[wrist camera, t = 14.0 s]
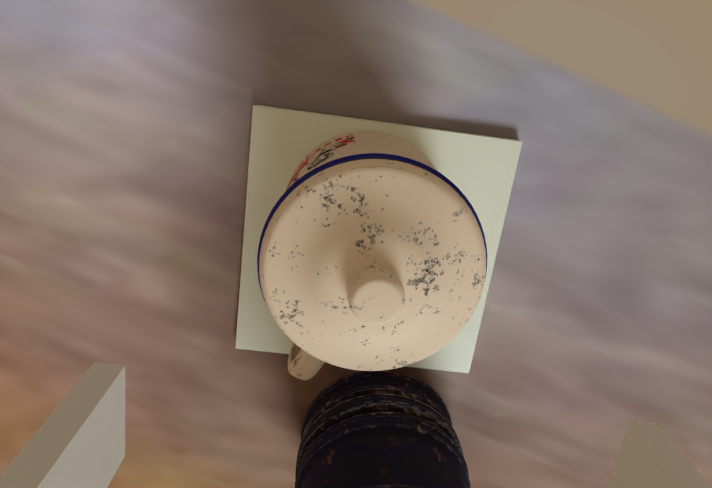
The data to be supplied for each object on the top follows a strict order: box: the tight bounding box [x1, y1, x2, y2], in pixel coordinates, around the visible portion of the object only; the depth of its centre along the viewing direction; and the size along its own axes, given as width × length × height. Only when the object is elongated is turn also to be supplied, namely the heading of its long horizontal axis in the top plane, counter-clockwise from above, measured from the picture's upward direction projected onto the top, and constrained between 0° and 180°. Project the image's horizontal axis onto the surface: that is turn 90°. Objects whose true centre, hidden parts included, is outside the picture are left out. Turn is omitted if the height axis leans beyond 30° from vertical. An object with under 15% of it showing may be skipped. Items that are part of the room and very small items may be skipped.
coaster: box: [236, 104, 522, 373], centre depth 31 cm, size 14×14×1 cm
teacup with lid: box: [257, 131, 487, 380], centre depth 25 cm, size 12×9×12 cm
